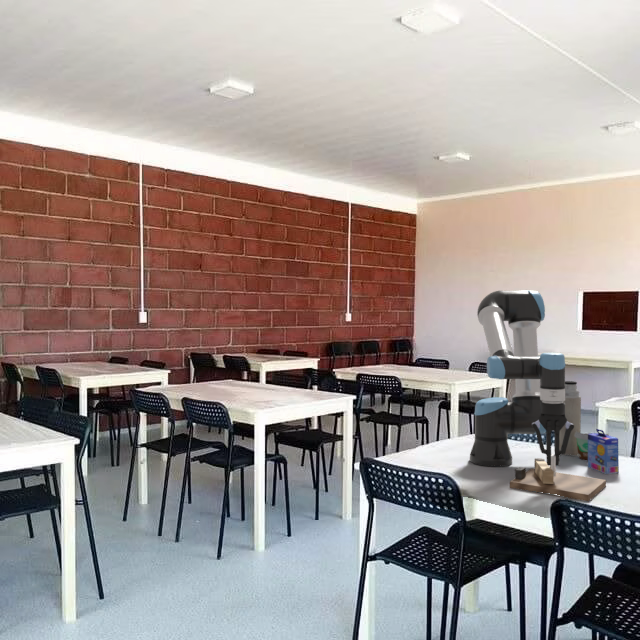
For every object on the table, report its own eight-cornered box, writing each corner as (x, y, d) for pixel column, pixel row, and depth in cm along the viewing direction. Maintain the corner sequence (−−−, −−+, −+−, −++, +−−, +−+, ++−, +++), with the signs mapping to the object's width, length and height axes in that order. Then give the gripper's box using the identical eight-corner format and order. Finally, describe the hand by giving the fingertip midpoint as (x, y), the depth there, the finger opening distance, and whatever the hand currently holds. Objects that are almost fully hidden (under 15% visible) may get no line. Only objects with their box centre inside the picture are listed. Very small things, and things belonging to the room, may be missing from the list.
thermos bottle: (566, 450, 262) (567, 379, 262) (584, 453, 256) (585, 381, 255) (554, 452, 258) (554, 381, 257) (571, 456, 251) (572, 383, 250)
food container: (574, 460, 245) (574, 433, 245) (574, 456, 251) (574, 430, 251) (610, 463, 241) (610, 436, 241) (609, 459, 247) (609, 432, 246)
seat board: (509, 487, 210) (509, 472, 210) (531, 474, 226) (531, 459, 226) (588, 501, 196) (588, 484, 196) (605, 486, 212) (606, 470, 212)
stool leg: (533, 471, 223) (533, 458, 222) (543, 471, 222) (543, 458, 222) (543, 484, 207) (543, 470, 206) (553, 484, 206) (553, 470, 206)
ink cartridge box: (586, 467, 235) (586, 427, 235) (599, 466, 237) (599, 426, 237) (605, 474, 226) (606, 432, 226) (619, 473, 228) (619, 431, 227)
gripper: (532, 403, 208) (532, 477, 208) (575, 403, 205) (576, 479, 205) (530, 399, 215) (530, 471, 216) (572, 400, 212) (572, 473, 213)
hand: (552, 475), depth 211 cm, fingers closed
